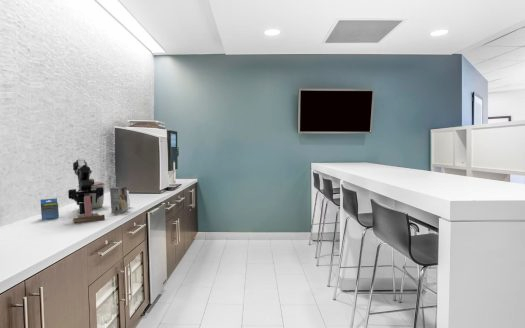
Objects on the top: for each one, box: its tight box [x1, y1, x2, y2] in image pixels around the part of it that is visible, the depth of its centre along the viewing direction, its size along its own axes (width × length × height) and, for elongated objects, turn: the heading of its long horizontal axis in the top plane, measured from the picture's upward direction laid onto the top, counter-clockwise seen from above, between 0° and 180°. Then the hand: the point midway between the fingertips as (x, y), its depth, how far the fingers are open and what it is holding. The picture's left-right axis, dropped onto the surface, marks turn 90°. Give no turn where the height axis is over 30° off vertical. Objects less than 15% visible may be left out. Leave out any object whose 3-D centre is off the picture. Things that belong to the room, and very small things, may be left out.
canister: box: [77, 178, 106, 210], centre depth 241 cm, size 18×18×21 cm
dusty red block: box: [84, 195, 93, 217], centre depth 199 cm, size 6×3×12 cm, turn 32°
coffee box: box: [109, 186, 129, 214], centre depth 223 cm, size 9×6×16 cm
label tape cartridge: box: [40, 198, 60, 220], centre depth 207 cm, size 9×4×12 cm, turn 115°
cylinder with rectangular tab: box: [127, 190, 131, 209], centre depth 238 cm, size 9×9×12 cm
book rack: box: [72, 212, 106, 225], centre depth 199 cm, size 11×16×3 cm
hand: (87, 203), depth 198 cm, fingers open, 9 cm apart
